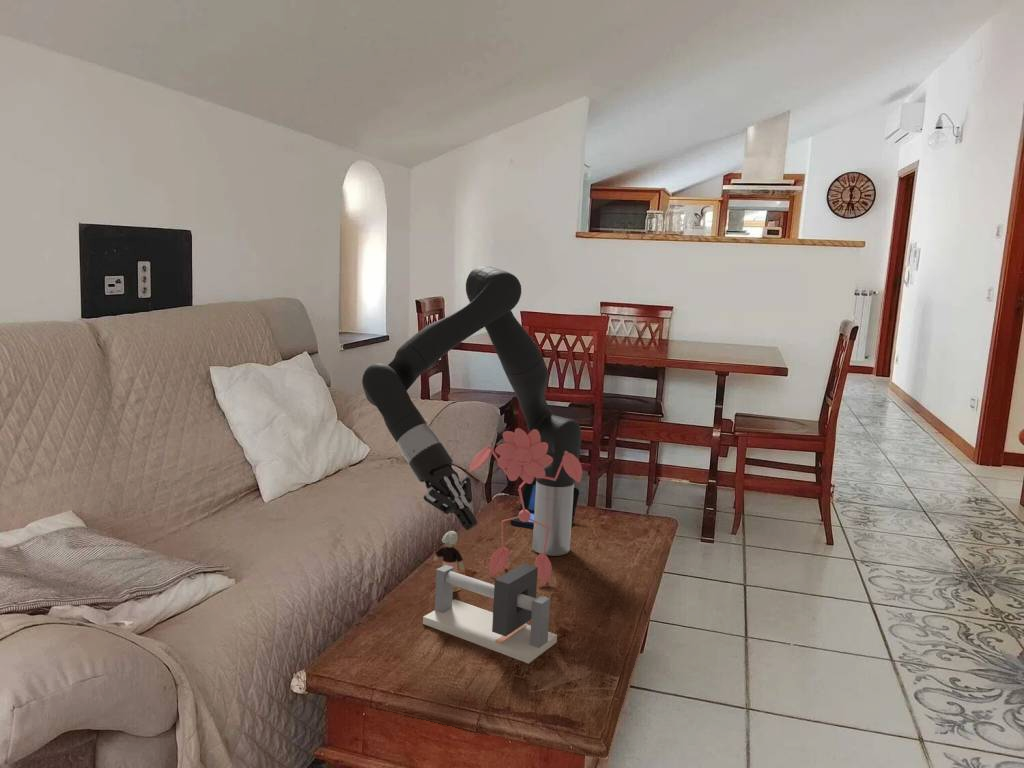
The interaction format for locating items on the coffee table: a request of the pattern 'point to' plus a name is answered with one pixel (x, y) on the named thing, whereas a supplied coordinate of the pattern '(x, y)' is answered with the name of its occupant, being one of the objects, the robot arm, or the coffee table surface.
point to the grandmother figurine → (450, 554)
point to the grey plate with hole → (513, 598)
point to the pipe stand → (488, 618)
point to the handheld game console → (530, 505)
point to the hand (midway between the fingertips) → (472, 527)
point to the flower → (525, 461)
